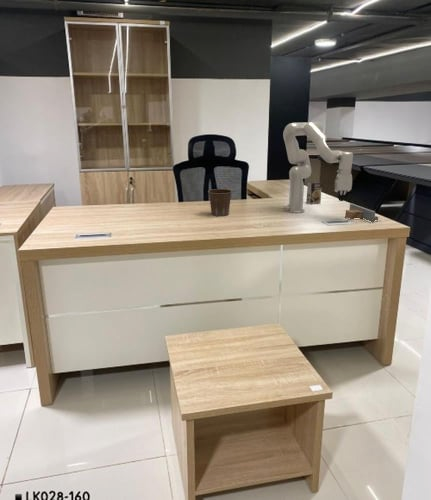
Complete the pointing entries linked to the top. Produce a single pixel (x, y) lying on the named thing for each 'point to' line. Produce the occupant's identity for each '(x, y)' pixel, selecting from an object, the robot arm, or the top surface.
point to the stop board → (365, 212)
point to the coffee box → (314, 193)
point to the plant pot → (220, 201)
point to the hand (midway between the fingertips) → (340, 200)
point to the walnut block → (353, 214)
